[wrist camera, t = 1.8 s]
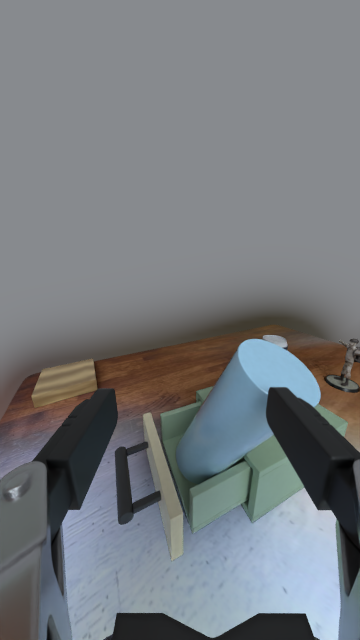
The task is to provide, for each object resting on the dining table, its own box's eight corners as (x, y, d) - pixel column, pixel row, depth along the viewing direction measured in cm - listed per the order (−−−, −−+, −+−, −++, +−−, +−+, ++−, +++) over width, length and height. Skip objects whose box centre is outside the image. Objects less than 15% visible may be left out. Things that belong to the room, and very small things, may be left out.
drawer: (124, 592, 15) (117, 549, 13) (116, 455, 26) (112, 423, 24) (281, 489, 21) (289, 453, 20) (221, 416, 32) (223, 389, 31)
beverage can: (253, 384, 43) (258, 339, 40) (259, 374, 48) (264, 332, 45) (278, 393, 40) (286, 345, 37) (282, 381, 44) (290, 337, 41)
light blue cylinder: (211, 495, 20) (333, 428, 9) (168, 467, 21) (232, 377, 10) (221, 444, 25) (310, 359, 14) (185, 423, 26) (242, 329, 15)
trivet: (97, 389, 42) (96, 379, 41) (34, 408, 36) (31, 396, 35) (94, 367, 52) (93, 358, 51) (44, 379, 46) (42, 369, 45)
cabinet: (252, 523, 19) (259, 472, 17) (195, 427, 31) (196, 390, 29) (335, 465, 25) (348, 422, 23) (260, 402, 37) (264, 371, 35)
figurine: (375, 401, 37) (392, 350, 34) (339, 396, 39) (352, 346, 36) (343, 373, 48) (354, 332, 45) (315, 370, 49) (324, 330, 46)
